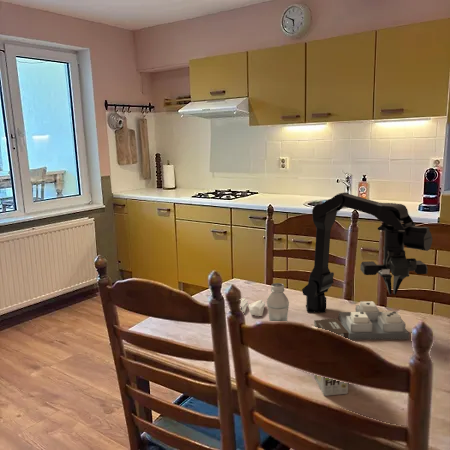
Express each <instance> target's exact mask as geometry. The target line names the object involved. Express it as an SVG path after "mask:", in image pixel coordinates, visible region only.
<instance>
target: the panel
mask: <svg viewBox="0 0 450 450" xmlns="http://www.w3.org/2000/svg"><path fill="white" fill-rule="evenodd" d="M351 312H352V311H346V312H345V311H339V312H338V319H339V322H340V323H341V324H342V325H343V327H344V328H345V329H346V330H347V331H348V332H349V339H351V340H409V339H410V332H409V331H408V330H407V329H406V322H405V321H404V320H403V319H402V318H401V323H385V321H384V320H383V319H382V312H383V311H380V309H379V308H378V307H377V308H376V312H365V313H366V315H367V316H368V323H352V321H351ZM355 312H362V311H361V309H360V304H359V305H358V304H357V305H355Z"/></svg>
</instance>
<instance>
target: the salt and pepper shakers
mask: <svg viewBox="0 0 450 450" xmlns="http://www.w3.org/2000/svg"><path fill="white" fill-rule="evenodd" d="M241 299H242V300H241ZM241 299H240V300H241V310H242V311H243V312H244V313H243V314H245V313H246V310H247V308H248V310H249V311H248V312H249V314H250V315H251V316H253V315H255V316H254V317H259V316H262V317H263V315H264V310H265V305H266V302H265V301H263V299H259V300H257V301H254V302H251V303H249V304H248V302H249V300H247V299H246V298H245V297H244V298H241Z"/></svg>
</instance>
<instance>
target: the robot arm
mask: <svg viewBox="0 0 450 450" xmlns="http://www.w3.org/2000/svg"><path fill="white" fill-rule="evenodd" d="M344 207H345V208H349V209H352V210H356V211H358V212H361V213H364V214H368V215H371V216H374V217H375V218H376V219H377V220H378V221H380V222H382V224H381V225H380V226H379V227H377V230H378V231H383V232H384V236H383V238H384V240H383V241H384V242H383V244H384V245H383V246H382V249H383V259H382V263H383V264H377V263H376V262H374V261H362V262H361V263H360V265H359V266H360V272H362V273H363V275H364V276H375V275H377V274H379V276H380V277H381V278H383V281H384V283H385V286H386V289H387V292H388V294H389V295H392V290H393V294H394V295H397V293H398V291H399V288H400V287H401V284H402V283H403V280H405V279H406V278H408V277H410V272H415V273H416V274H417V275H427V274H428V269H429V268H428V265H427V264H426V263H425V262H423V261H422V260H417V259H416V258H413V257H411V258H407V257H406V250H405V247H406V248H407V249H413V250H417V251H418V250H419V251H429V250H430V249H431V247H432V246H433V245H432V244H433V236H432V233H431V231H430V227H429V226H419V225H418V226H417V225H416V223H415V221H414V220H413V219H412V217H411V216H410V214H409V210H408V208H407V206H406V205H405V204H403V203H395V202H394V203H393V202H378V201H374V200H371V199H368V198H365V197H361V196H357V195H355V194H351V193H349V192H340V193H337V194H336V195H334V196H333V197H331V198H329V199H328V200H326V201H324V202H321V203H317V204H316V205H315V206H314V207H313V208H312V211H311V212H312V213H311V214H312V222H313V225H314V226H315V228H316V231H315V232H316V233H315V246H314V248H315V249H314V263H313V264H314V266H313V269H312V270H311V272H310V274H309V277H308V282H307V285H305V286H304V287H303V288H302V289H301V291H302V294H303V296H305V297H306V299H305V301H306V302H305V303H306V304H305V309H306V312H307V313H309V314H311V313H313V314H315V313H316V314H317V313H326V310H327V297H326V295H325V293H328V291H329V289H330V288H331V287H332V285H333V284H334V276H335V273H334V272H333V271H332V272H331V271H330V269H329V259H330V244H331V230H332V227H333V225H334V224H335V221H336V218H337V214H338V212H339V211H340V210H342V209H343V208H344ZM392 276H393V286H392ZM392 287H393V288H392Z"/></svg>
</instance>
